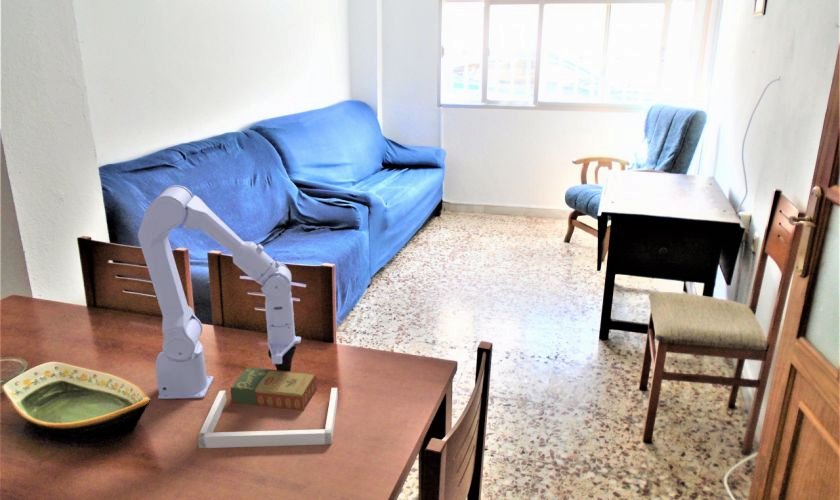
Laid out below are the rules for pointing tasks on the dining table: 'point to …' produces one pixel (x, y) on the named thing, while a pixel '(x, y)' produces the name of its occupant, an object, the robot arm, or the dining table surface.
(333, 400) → the bay
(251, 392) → the carton
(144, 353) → the dining table surface
